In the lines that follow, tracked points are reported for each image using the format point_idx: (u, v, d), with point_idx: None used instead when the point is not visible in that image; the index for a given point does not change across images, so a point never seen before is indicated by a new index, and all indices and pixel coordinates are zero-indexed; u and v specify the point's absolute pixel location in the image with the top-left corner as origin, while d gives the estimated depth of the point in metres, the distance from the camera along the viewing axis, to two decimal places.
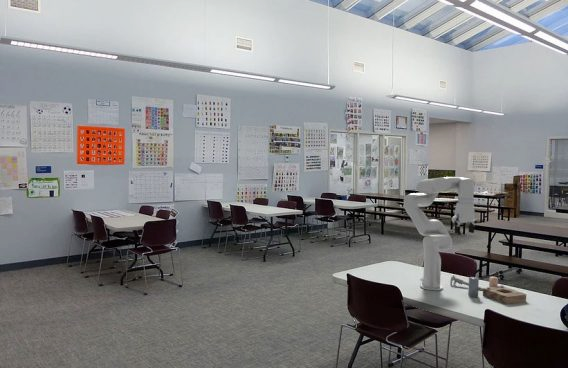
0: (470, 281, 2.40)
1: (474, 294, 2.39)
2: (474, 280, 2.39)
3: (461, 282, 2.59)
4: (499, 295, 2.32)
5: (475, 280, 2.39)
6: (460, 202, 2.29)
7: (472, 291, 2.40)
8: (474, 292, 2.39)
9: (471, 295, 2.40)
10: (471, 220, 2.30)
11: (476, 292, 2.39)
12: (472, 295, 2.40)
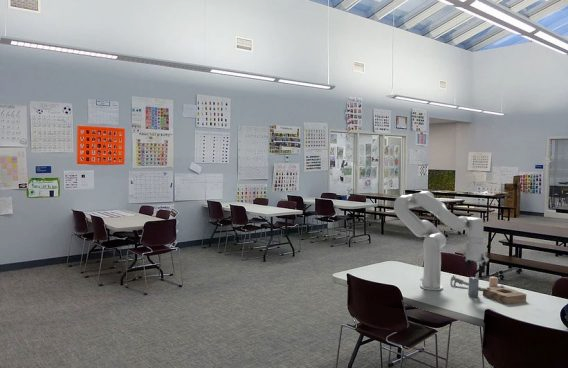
0: (470, 281, 2.40)
1: (474, 294, 2.39)
2: (474, 280, 2.39)
3: (461, 282, 2.59)
4: (499, 295, 2.32)
5: (475, 280, 2.39)
6: (481, 242, 2.37)
7: (472, 291, 2.40)
8: (474, 292, 2.39)
9: (471, 295, 2.40)
10: None
11: (476, 292, 2.39)
12: (472, 295, 2.40)
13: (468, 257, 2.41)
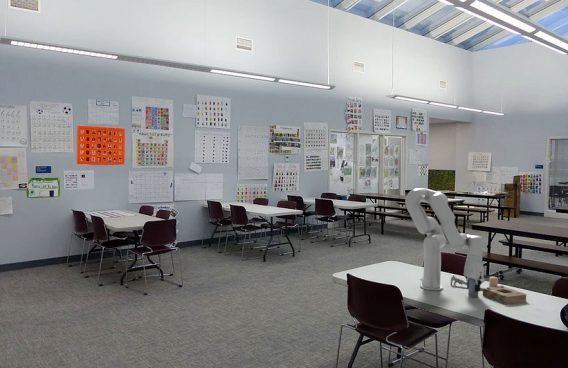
0: (470, 281, 2.40)
1: (474, 294, 2.39)
2: (474, 280, 2.39)
3: (461, 282, 2.59)
4: (499, 295, 2.32)
5: None
6: (480, 260, 2.37)
7: (472, 291, 2.40)
8: (474, 292, 2.39)
9: (471, 295, 2.40)
10: None
11: (476, 292, 2.39)
12: (472, 295, 2.40)
13: (467, 274, 2.42)
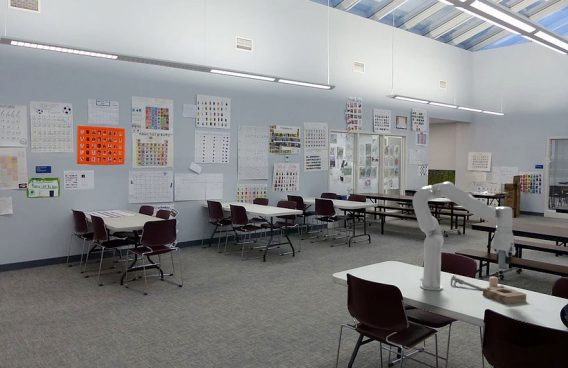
0: (500, 253, 2.36)
1: (505, 266, 2.35)
2: (504, 252, 2.34)
3: (461, 282, 2.59)
4: (499, 295, 2.32)
5: (505, 252, 2.34)
6: (510, 231, 2.33)
7: (502, 263, 2.35)
8: (505, 264, 2.35)
9: (501, 267, 2.35)
10: None
11: (507, 264, 2.35)
12: (502, 267, 2.35)
13: (497, 247, 2.37)
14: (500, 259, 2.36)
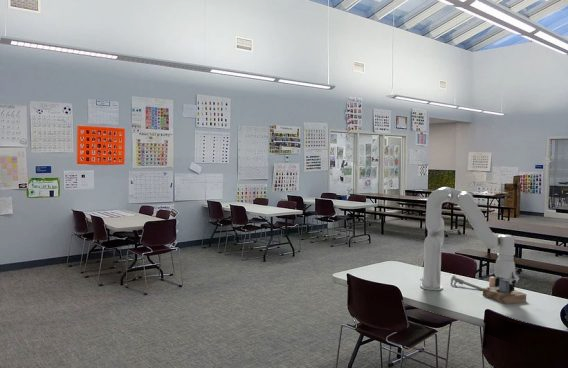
0: (501, 283, 2.37)
1: None
2: (505, 282, 2.35)
3: (461, 282, 2.59)
4: (499, 295, 2.32)
5: (506, 282, 2.35)
6: (511, 260, 2.33)
7: None
8: None
9: None
10: None
11: None
12: None
13: (498, 274, 2.38)
14: (501, 289, 2.37)
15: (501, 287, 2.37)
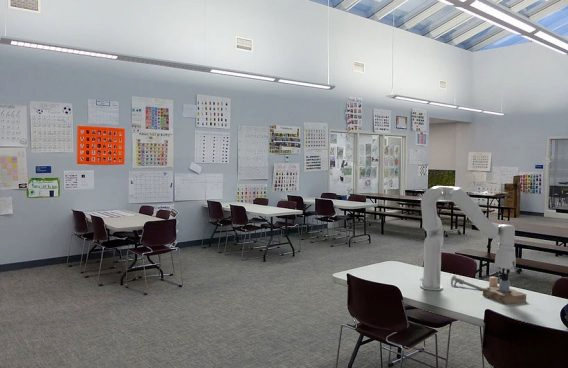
0: (501, 283, 2.37)
1: None
2: (505, 282, 2.35)
3: (462, 282, 2.59)
4: (499, 295, 2.32)
5: (506, 282, 2.35)
6: (512, 249, 2.33)
7: None
8: None
9: None
10: None
11: None
12: None
13: (498, 264, 2.38)
14: (501, 289, 2.37)
15: (501, 287, 2.37)
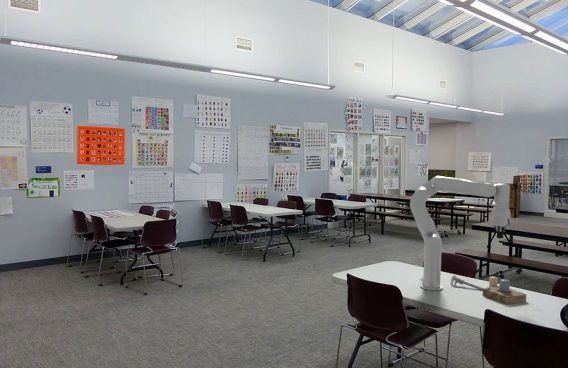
0: (501, 283, 2.37)
1: None
2: (505, 282, 2.35)
3: (462, 282, 2.59)
4: (499, 295, 2.32)
5: (506, 282, 2.35)
6: (507, 207, 2.39)
7: None
8: None
9: None
10: None
11: None
12: None
13: (494, 222, 2.44)
14: (501, 289, 2.37)
15: (501, 287, 2.37)
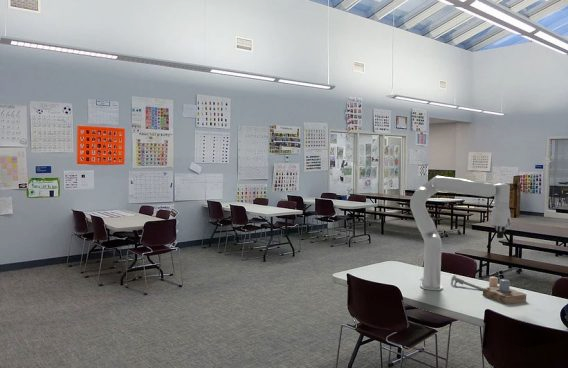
0: (501, 283, 2.37)
1: None
2: (505, 282, 2.35)
3: (462, 282, 2.59)
4: (499, 295, 2.32)
5: (506, 282, 2.35)
6: (507, 207, 2.39)
7: None
8: None
9: None
10: None
11: None
12: None
13: (494, 222, 2.44)
14: (501, 289, 2.37)
15: (501, 287, 2.37)
